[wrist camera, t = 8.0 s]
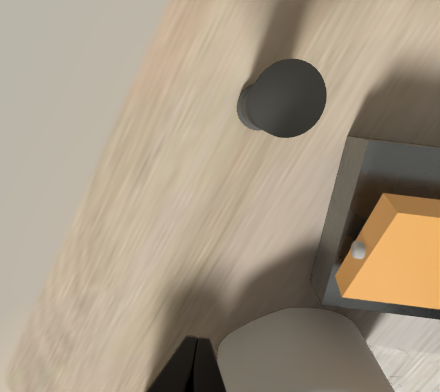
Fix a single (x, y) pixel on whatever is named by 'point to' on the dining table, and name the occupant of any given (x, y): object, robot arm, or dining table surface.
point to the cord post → (284, 99)
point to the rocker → (396, 254)
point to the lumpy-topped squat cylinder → (299, 355)
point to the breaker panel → (370, 209)
